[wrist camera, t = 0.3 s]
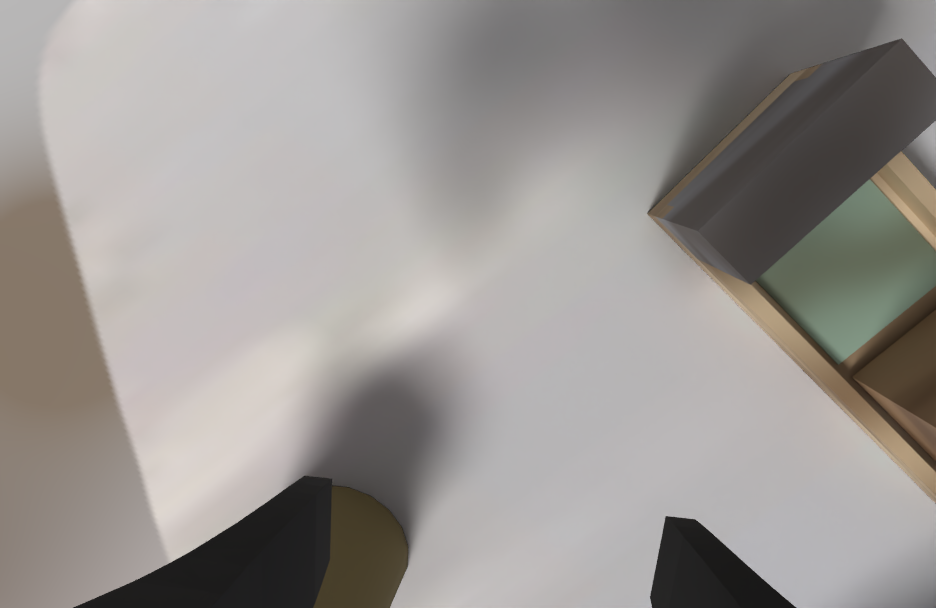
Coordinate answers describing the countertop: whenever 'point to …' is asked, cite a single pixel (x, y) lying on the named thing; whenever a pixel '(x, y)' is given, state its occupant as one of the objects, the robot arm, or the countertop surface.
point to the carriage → (907, 382)
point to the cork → (362, 553)
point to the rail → (825, 225)
